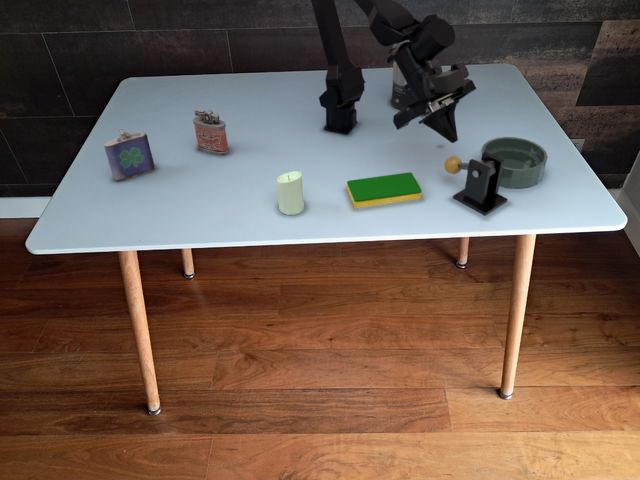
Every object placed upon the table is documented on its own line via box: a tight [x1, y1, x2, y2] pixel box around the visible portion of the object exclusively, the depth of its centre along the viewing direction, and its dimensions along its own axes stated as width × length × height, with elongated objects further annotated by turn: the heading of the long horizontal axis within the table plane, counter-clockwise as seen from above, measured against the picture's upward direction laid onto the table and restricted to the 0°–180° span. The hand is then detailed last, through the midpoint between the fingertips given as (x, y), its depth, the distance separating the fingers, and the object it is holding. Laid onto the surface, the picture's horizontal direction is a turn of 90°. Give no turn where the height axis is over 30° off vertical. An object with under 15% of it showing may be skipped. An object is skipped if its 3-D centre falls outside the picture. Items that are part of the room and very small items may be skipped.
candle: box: [276, 171, 305, 216], centre depth 115 cm, size 5×5×8 cm
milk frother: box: [390, 39, 443, 111], centre depth 148 cm, size 14×16×15 cm
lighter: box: [192, 108, 230, 157], centre depth 133 cm, size 8×3×10 cm, turn 65°
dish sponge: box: [346, 171, 422, 210], centre depth 120 cm, size 7×14×2 cm, turn 101°
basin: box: [478, 136, 548, 189], centre depth 123 cm, size 13×13×5 cm
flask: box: [103, 128, 156, 182], centre depth 126 cm, size 9×3×11 cm, turn 121°
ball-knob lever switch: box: [452, 151, 509, 217], centre depth 114 cm, size 8×7×10 cm
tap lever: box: [443, 155, 496, 176], centre depth 116 cm, size 11×4×4 cm, turn 40°
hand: (455, 141), depth 115 cm, fingers closed
